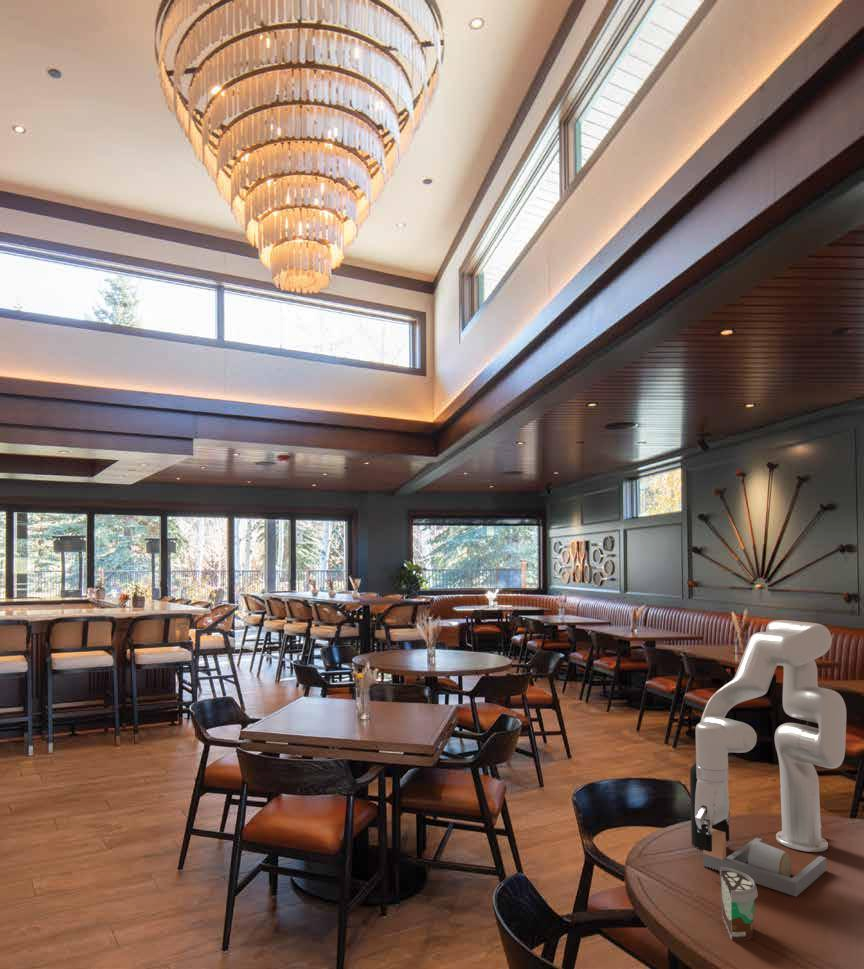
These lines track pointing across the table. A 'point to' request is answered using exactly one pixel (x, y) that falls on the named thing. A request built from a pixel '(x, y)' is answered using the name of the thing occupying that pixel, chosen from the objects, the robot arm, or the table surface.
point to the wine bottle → (692, 795)
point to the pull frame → (759, 875)
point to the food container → (737, 902)
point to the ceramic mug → (770, 858)
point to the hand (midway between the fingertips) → (714, 844)
